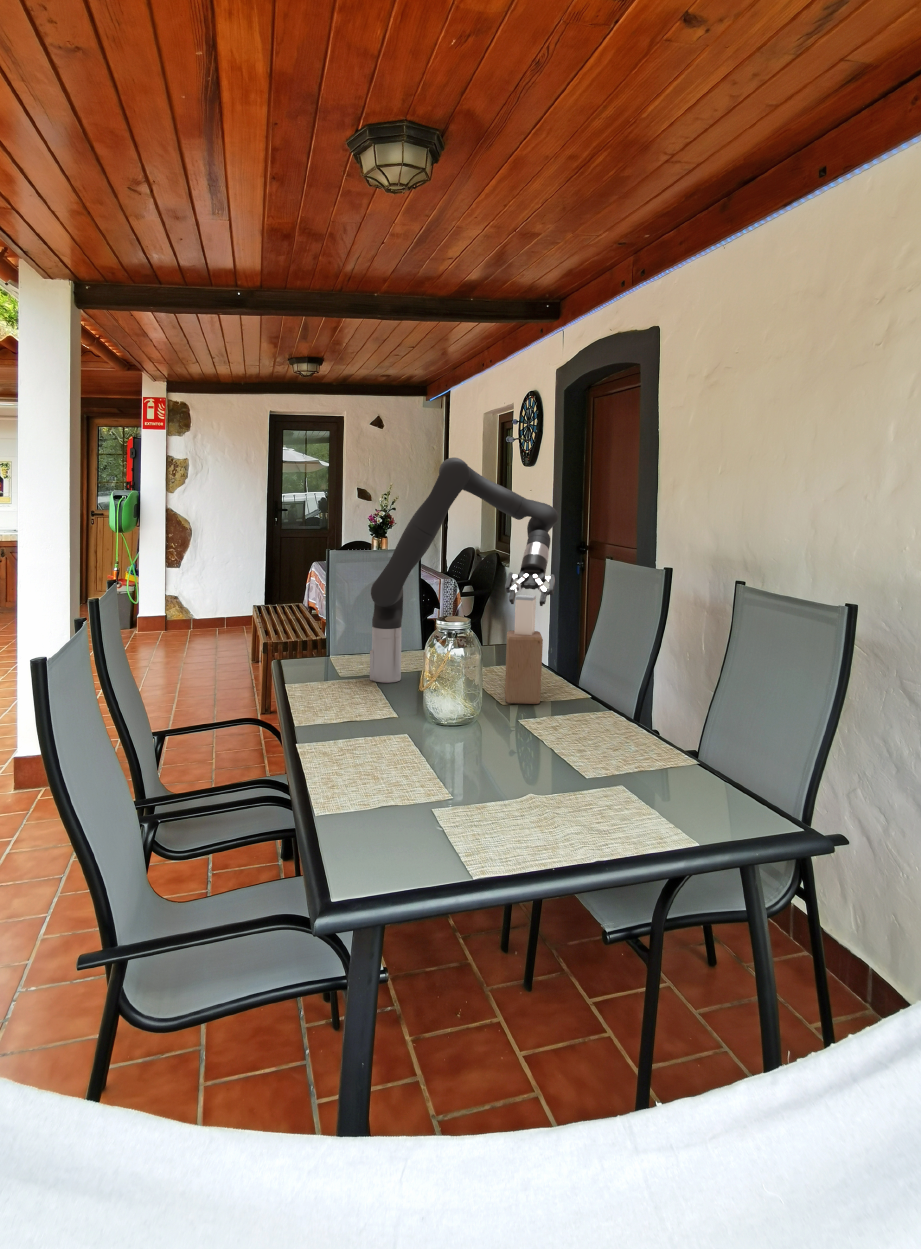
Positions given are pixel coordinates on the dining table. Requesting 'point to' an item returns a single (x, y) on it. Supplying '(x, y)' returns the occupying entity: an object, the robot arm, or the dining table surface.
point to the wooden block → (523, 668)
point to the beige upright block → (525, 614)
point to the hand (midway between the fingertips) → (526, 603)
